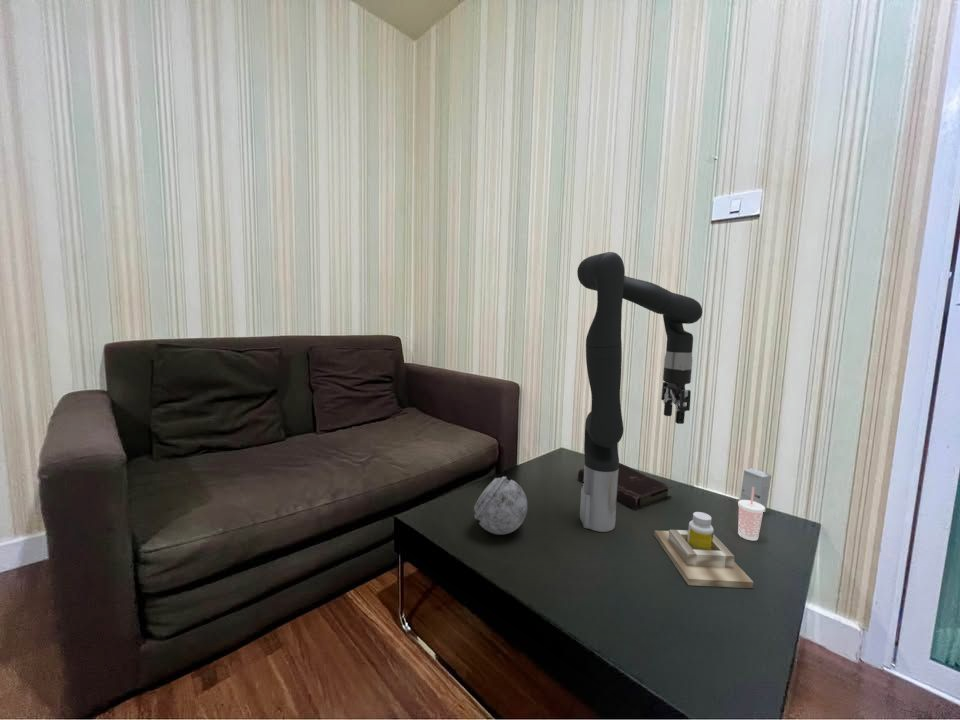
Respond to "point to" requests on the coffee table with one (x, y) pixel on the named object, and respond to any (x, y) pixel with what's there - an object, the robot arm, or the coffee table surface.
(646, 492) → the diary
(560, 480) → the coffee table surface
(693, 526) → the supplement bottle
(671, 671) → the coffee table surface
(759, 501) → the skincare box
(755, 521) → the beverage cup
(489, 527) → the decorative orb
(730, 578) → the socket board
